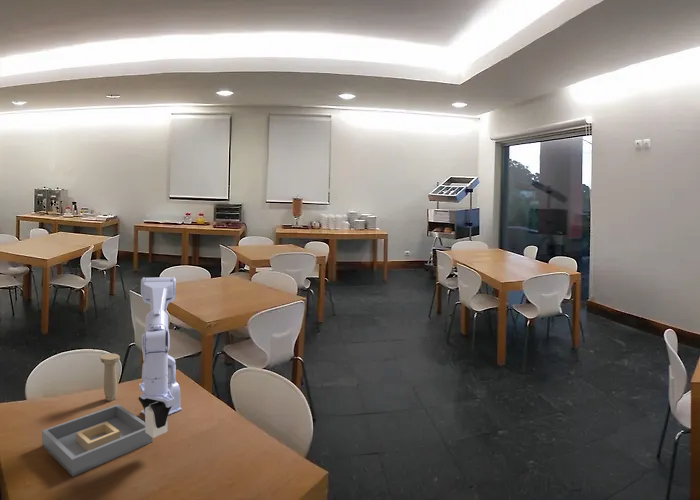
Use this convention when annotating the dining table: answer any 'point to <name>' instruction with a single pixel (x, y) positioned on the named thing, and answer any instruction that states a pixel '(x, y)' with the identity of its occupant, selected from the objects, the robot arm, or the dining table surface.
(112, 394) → the handle
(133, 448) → the box
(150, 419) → the plug
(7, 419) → the dining table surface
